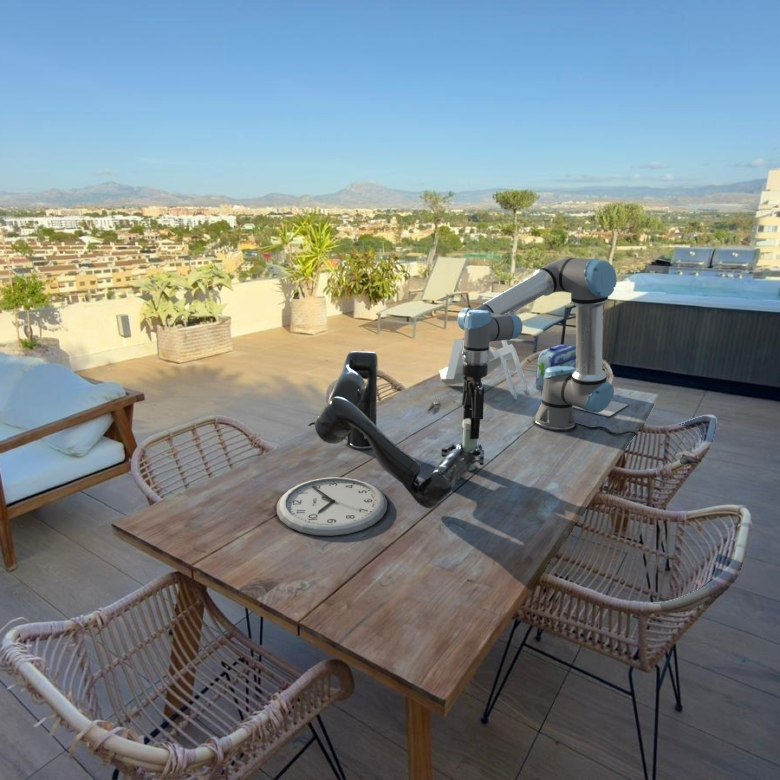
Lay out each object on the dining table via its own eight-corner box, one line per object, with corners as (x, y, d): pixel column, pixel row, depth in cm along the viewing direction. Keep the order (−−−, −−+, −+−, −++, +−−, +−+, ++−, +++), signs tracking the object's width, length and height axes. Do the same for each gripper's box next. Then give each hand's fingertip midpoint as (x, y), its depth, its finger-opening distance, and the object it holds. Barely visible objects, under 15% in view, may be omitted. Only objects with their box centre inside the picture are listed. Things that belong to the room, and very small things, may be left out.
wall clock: (392, 527, 129) (268, 531, 127) (391, 533, 130) (269, 537, 127) (383, 473, 158) (282, 475, 155) (383, 478, 158) (282, 480, 156)
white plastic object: (461, 429, 252) (437, 405, 227) (444, 352, 274) (420, 323, 250) (535, 404, 240) (518, 377, 215) (510, 326, 262) (492, 293, 237)
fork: (425, 411, 216) (425, 407, 215) (435, 400, 230) (435, 396, 230) (431, 412, 215) (431, 408, 214) (441, 401, 229) (441, 396, 229)
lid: (459, 424, 164) (460, 419, 164) (474, 423, 166) (475, 417, 165) (466, 430, 160) (467, 424, 159) (482, 429, 161) (482, 423, 160)
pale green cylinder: (475, 465, 168) (479, 421, 164) (474, 471, 164) (477, 426, 160) (462, 463, 169) (464, 419, 165) (460, 469, 165) (462, 424, 161)
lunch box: (552, 397, 237) (557, 352, 231) (531, 392, 245) (535, 348, 238) (579, 386, 255) (584, 344, 249) (558, 381, 262) (563, 340, 256)
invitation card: (608, 416, 214) (573, 407, 224) (608, 416, 214) (573, 408, 224) (628, 404, 229) (594, 396, 238) (628, 405, 229) (594, 397, 238)
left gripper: (478, 459, 148) (494, 438, 163) (431, 449, 154) (451, 430, 169) (476, 482, 151) (493, 460, 165) (430, 472, 157) (450, 451, 171)
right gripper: (454, 354, 165) (450, 422, 172) (472, 371, 147) (467, 446, 153) (477, 354, 166) (472, 421, 173) (498, 371, 148) (492, 445, 154)
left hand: (471, 445), depth 167 cm, fingers closed on pale green cylinder, 4 cm apart
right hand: (470, 433), depth 163 cm, fingers open, 7 cm apart
